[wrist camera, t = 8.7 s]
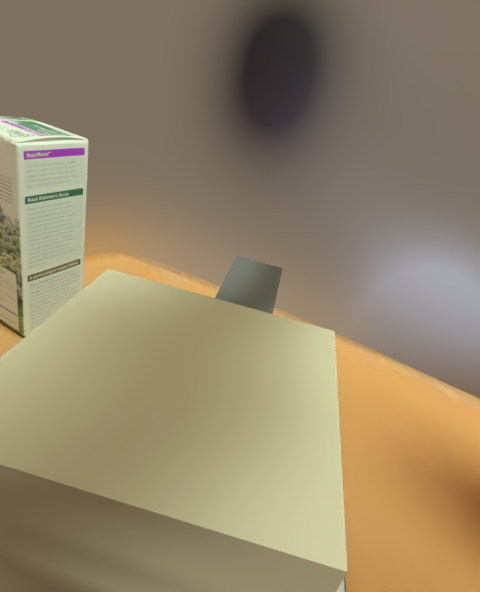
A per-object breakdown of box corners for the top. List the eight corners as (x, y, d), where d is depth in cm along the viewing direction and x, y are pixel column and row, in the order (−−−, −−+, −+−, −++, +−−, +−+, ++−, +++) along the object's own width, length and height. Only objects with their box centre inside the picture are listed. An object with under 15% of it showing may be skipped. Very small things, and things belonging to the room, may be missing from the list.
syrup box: (85, 313, 36) (94, 136, 29) (22, 341, 31) (16, 137, 25) (39, 287, 38) (38, 116, 31) (-27, 309, 33) (-44, 113, 27)
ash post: (218, 640, 15) (334, 331, 9) (173, 876, 10) (348, 572, 4) (82, 596, 15) (108, 268, 9) (-18, 807, 11) (-95, 435, 5)
